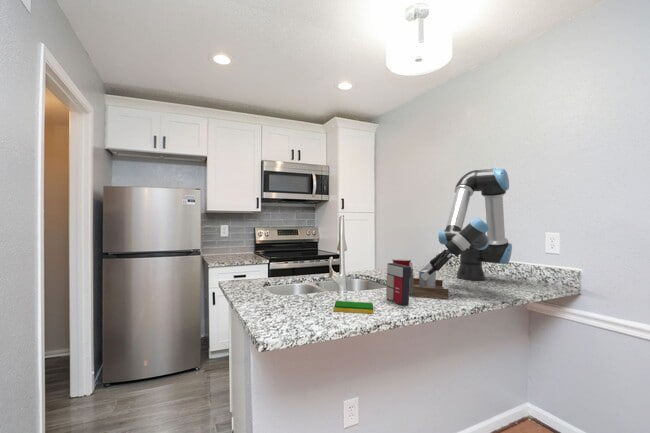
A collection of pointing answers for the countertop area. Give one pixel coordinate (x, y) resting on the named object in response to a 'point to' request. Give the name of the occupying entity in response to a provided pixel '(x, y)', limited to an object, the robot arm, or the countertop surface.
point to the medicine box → (429, 282)
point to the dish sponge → (353, 307)
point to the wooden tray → (426, 288)
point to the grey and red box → (398, 283)
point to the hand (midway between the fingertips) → (422, 275)
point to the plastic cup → (402, 261)
